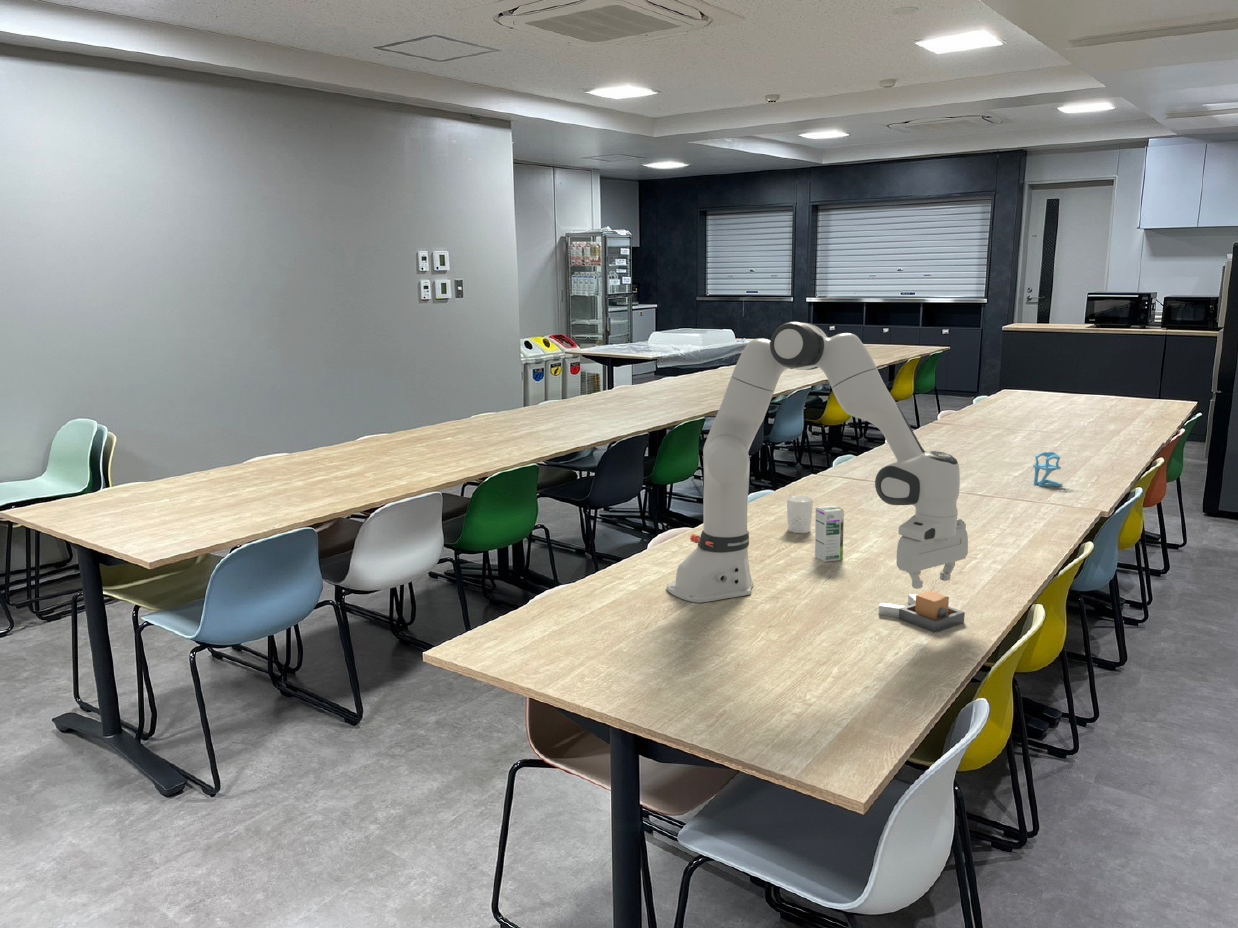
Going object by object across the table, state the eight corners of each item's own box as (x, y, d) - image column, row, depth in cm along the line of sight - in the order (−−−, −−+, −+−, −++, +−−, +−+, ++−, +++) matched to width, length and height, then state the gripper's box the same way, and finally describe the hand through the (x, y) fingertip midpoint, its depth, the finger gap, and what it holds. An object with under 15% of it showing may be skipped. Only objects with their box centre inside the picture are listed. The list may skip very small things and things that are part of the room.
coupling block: (935, 628, 201) (937, 602, 200) (911, 618, 207) (913, 594, 205) (950, 623, 204) (951, 597, 202) (926, 614, 209) (927, 589, 208)
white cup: (808, 526, 282) (809, 495, 280) (815, 533, 274) (815, 501, 272) (783, 527, 282) (784, 496, 280) (789, 534, 274) (789, 502, 272)
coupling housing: (929, 634, 197) (930, 623, 197) (874, 613, 210) (875, 602, 210) (968, 620, 205) (969, 610, 204) (913, 601, 217) (913, 591, 217)
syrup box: (824, 562, 247) (825, 511, 244) (814, 556, 253) (815, 506, 250) (843, 560, 249) (844, 509, 246) (832, 554, 254) (834, 504, 251)
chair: (1028, 483, 332) (1030, 451, 329) (1046, 481, 334) (1049, 449, 332) (1043, 488, 325) (1046, 455, 322) (1062, 486, 327) (1065, 453, 325)
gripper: (953, 514, 208) (949, 571, 211) (893, 528, 198) (889, 588, 200) (977, 521, 203) (972, 579, 206) (916, 535, 192) (912, 596, 195)
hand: (931, 583), depth 203 cm, fingers open, 8 cm apart
